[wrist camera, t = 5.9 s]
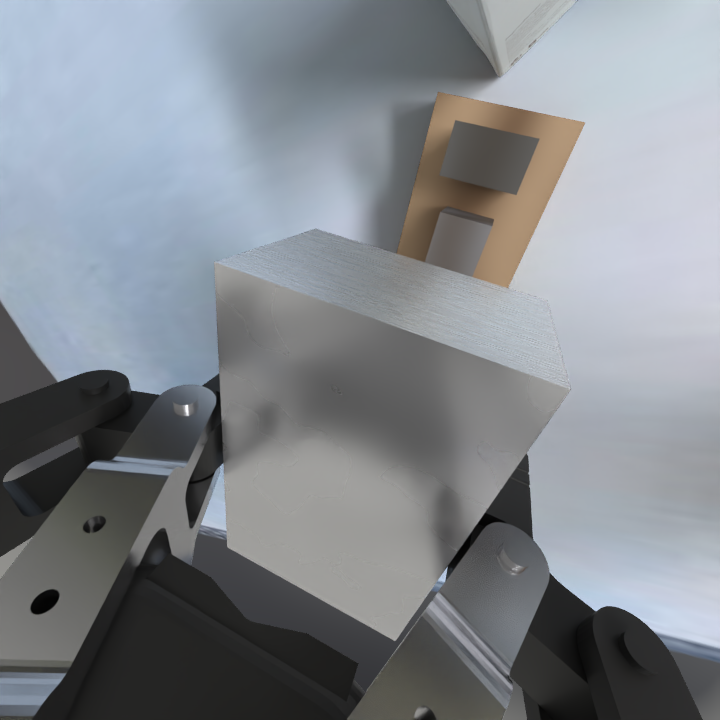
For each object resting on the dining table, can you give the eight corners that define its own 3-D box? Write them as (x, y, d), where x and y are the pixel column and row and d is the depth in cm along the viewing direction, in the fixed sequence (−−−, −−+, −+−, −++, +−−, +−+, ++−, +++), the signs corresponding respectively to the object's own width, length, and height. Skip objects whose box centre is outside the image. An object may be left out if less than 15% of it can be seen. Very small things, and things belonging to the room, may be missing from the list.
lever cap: (547, 300, 7) (571, 389, 4) (422, 529, 12) (395, 641, 9) (315, 228, 8) (213, 262, 5) (288, 465, 13) (227, 547, 10)
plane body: (576, 127, 20) (602, 113, 14) (449, 402, 32) (437, 453, 27) (445, 99, 22) (423, 77, 16) (372, 372, 34) (344, 413, 28)
